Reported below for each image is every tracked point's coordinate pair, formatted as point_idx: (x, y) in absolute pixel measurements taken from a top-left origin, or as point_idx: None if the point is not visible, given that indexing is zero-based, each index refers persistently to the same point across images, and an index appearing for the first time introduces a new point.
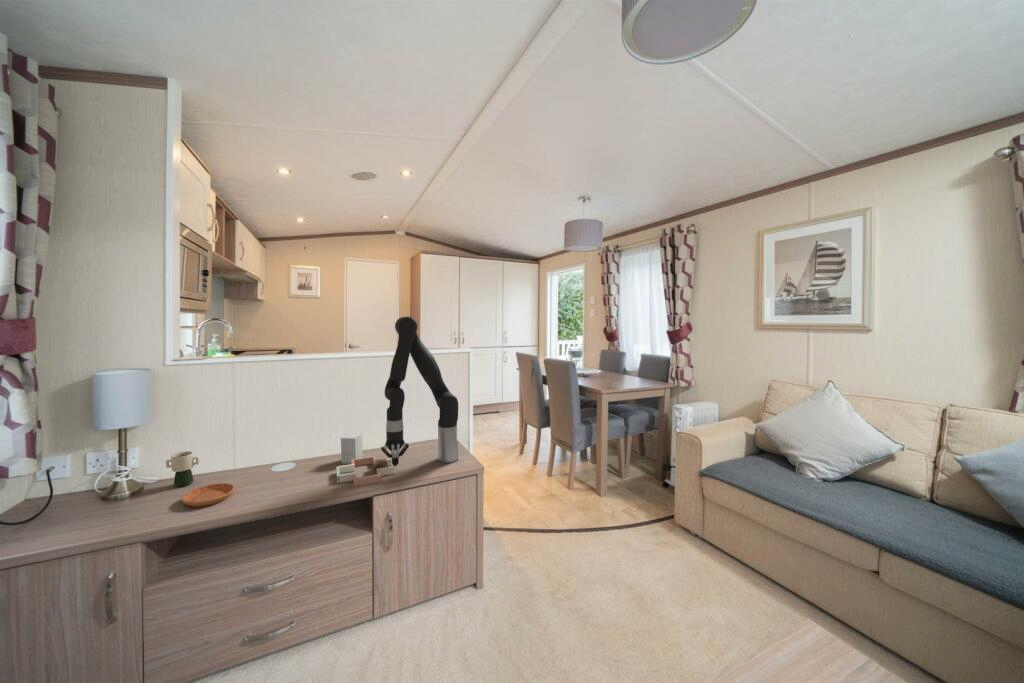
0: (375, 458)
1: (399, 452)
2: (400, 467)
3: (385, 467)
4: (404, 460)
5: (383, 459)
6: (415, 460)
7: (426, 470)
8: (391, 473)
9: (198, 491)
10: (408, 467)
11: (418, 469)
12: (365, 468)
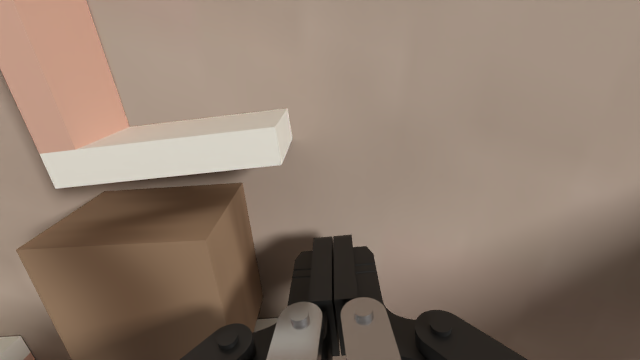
0: (22, 51)
1: (425, 344)
2: (389, 221)
3: None
4: (476, 3)
5: (168, 261)
6: (618, 54)
7: (604, 349)
8: None
9: None
10: (469, 244)
11: (546, 312)
12: (10, 137)
